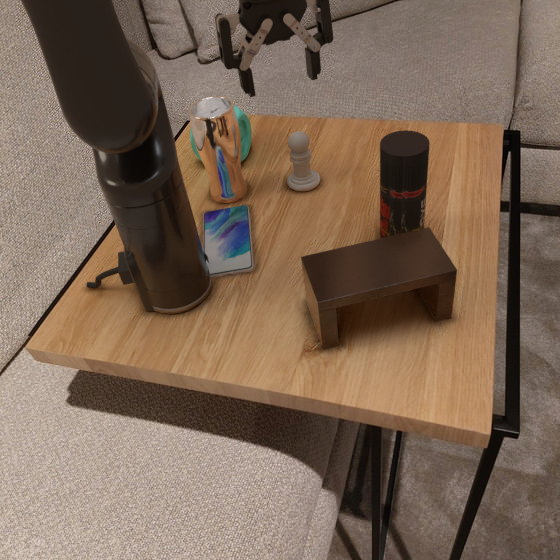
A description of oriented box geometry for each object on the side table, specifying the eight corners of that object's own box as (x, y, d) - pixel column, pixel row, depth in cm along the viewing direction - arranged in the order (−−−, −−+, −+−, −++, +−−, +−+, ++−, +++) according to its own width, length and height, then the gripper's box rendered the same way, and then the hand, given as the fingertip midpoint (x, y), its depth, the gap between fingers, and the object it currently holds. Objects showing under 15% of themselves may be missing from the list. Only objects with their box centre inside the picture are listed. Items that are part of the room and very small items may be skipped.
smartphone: (202, 277, 80) (202, 211, 91) (203, 281, 81) (204, 215, 92) (254, 268, 80) (248, 203, 91) (255, 272, 81) (249, 208, 91)
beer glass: (202, 204, 93) (180, 119, 83) (214, 179, 98) (194, 95, 88) (245, 205, 92) (228, 118, 81) (254, 179, 96) (239, 94, 86)
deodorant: (422, 251, 79) (429, 156, 69) (378, 250, 81) (378, 156, 70) (423, 224, 83) (430, 130, 73) (381, 222, 85) (381, 130, 74)
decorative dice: (213, 142, 107) (204, 101, 101) (254, 145, 104) (247, 104, 99) (196, 167, 101) (185, 125, 96) (238, 170, 99) (230, 128, 93)
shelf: (322, 349, 69) (317, 302, 64) (306, 302, 75) (300, 256, 69) (451, 318, 70) (457, 269, 65) (425, 274, 76) (429, 226, 71)
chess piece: (282, 190, 93) (275, 140, 87) (294, 171, 97) (288, 122, 91) (313, 194, 91) (308, 144, 85) (325, 175, 95) (321, 125, 89)
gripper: (312, -71, 69) (322, 62, 80) (196, -44, 67) (223, 88, 78) (336, -57, 64) (343, 83, 75) (210, -27, 62) (237, 112, 73)
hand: (281, 86), depth 77 cm, fingers open, 8 cm apart
